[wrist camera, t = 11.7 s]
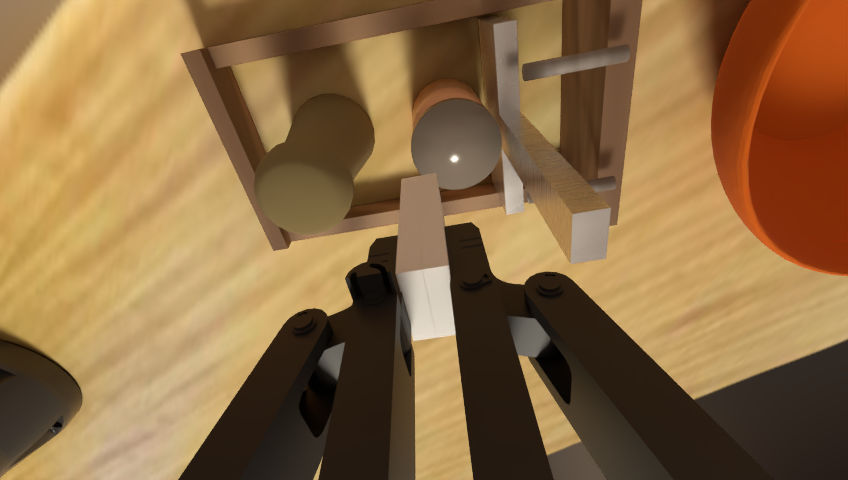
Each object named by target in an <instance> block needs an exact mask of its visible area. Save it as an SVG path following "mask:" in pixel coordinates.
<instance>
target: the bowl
mask: <svg viewBox="0 0 848 480" xmlns="http://www.w3.org/2000/svg"><path fill="white" fill-rule="evenodd" d="M711 139H712V147H713V155H714V160H715V163H716V167H717V171H718V175H719V178H720V180H721V183H722V186H723V188H724V191H725V193H726V195H727V197H728V199H729V201H730V203H731V204H732V206H733V208H734V210H735V211H736V213H737V214H738V216H739V217H740V218H741V220H742V221H743V223H744V224H745V225H746V226H747V227H748V229H749V230H750V231H751V232H752V233H753V234H754V235H755V236H756V237H757V238H758V239H759V240H760V241H761V242H762V243H763V244H764V245H766V246H767V247H768V248H769V249H771V250H772V251H773V252H775V253H776V254H778V255H780V256H781V257H783V258H784V259H786V260H788V261H790V262H792V263H795V264H797V265H799V266H802V267H804V268H807V269H810V270H813V271H818V272H822V273H827V274H832V275H842V276H848V0H751V1H750V2H749V4H748V6H747V7H746V9H745V11H744V13H743V14H742V16H741V18H740V20H739V23H738V25H737V27H736V29H735V31H734V33H733V35H732V37H731V40H730V42H729V45H728V47H727V50H726V52H725V55H724V58H723V61H722V64H721V67H720V70H719V74H718V78H717V82H716V86H715V91H714V97H713V104H712V117H711Z"/></svg>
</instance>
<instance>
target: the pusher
mask: <svg viewBox="0 0 848 480" xmlns="http://www.w3.org/2000/svg"><path fill="white" fill-rule="evenodd" d="M478 27H479V38H480V50H481V61H482V73H483V85H484V96H485V108H486V109H487V110H488V111H489V112H490V113H491V115H492V116H493V117H494V119H495V121H496V122H497V124H498V126H499V129H500V132H501V137H502V149H501V154H500V157H499V160H498V162H497V164H496V166H495V168H494V169H493V170H492V172H491V177H492V183H493V185H494V187H495V190H496V192H497V194H498V197H499V199H500V201H501V204H502V206H503V208H504V211H505V213H506V215H507V214H513V213H519V212H524V198H523V185H524V186H525V188H526V190H527V191H528V193H529V195H530V197H531V198H532V200H533V202H534V203H535V205H536V207H537V208H538V210H539V212H540V213H541V215H542V217H543V218H544V220H545V222H546V223H547V225H548V227H549V228H550V230H551V232H552V234H553V235H554V237H555V239H556V240H557V242H558V244H559V245H560V247H561V249H562V250H563V252H564V254H565V255H566V257H567V259H568V260H569V262H570V264H574V263H580V262H587V261H593V260H600V259H606V252H607V242H608V233H609V223H610V213H611V207H610V206H609V205H608V204H607V203H606V202H605V201H604V200H603V199H602V198H601V197H600V196H599V195H598V194H597V193H596V191H595V190H594V189H593V188H592V187H591V186H590V185H589V184H588V183H587V182H586V181H585V180H584V179H583V178H582V177H581V176H580V175H579V173H578V172H577V171H576V170H575V169H574V168H573V167H572V166H571V165H570V164H569V163H568V162H567V161H566V160H565V159H564V158H563V157H562V155H561V154H560V153H559V152H558V151H557V150H556V149H555V148H554V147H553V146H552V145H551V144H550V143H549V142H548V141H547V140H546V138H545V137H544V136H543V135H542V134H541V133H540V132H539V131H538V130H537V129H536V128H535V127H534V126H533V125H532V124H531V123H530V122H529V120H528V119H527V118H526V117H525V116H524V115H523V114H522V113H521V112H520V95H519V69H518V44H517V20H515V19H511V18H506V17H501V16H497V15H496V16H491V17H486V18H481V19H478Z"/></svg>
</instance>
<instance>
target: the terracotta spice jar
mask: <svg viewBox="0 0 848 480" xmlns="http://www.w3.org/2000/svg"><path fill="white" fill-rule="evenodd" d="M501 149H502V137H501V132H500V129H499V126H498V124H497V122H496V121H495V119H494V117H493V116H492V115H491V113H490V112H489V111H488V110H487V109H486V108H485V107H484V106H483V104H482V103H481V101H480V100H479V98H478V97H477V95H476V94H475V92H474V91H473V90H472V88H470V87H469V86H468V85H467V84H465V83H464V82H462V81H459V80H456V79H450V78H446V79H440V80H436V81H434V82H432V83H430V84H428V85H427V86H426V87H425V88H424V89H423V90H422V91H421V92H420V93H419V95H418V97H417V98H416V101H415V103H414V107H413V133H412V139H411V153H412V158H413V162H414V164H415V166H416V168H417V170H418V172H419V173H420V174H421V175H426V174H432V173H436V174H437V180H438V186H439V187H440V188H444V189H450V190H457V189H464V188H468V187H471V186H473V185H475V184H477V183H479V182H481V181H482V180H483V179H485V178H486V177H487V176H488V175H489V174H490V173H491V172H492V170H493V169H494V168H495V166H496V164H497V162H498V160H499V157H500V154H501Z"/></svg>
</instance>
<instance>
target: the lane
mask: <svg viewBox="0 0 848 480" xmlns="http://www.w3.org/2000/svg"><path fill="white" fill-rule="evenodd" d="M547 1H552V0H432V1H428V2H423V3H418V4H413V5H408V6H404V7H399V8H394V9H389V10H384V11H379V12H375V13H370V14H365V15H360V16H355V17H351V18H346V19H341V20H336V21H331V22H327V23H322V24H317V25H312V26H307V27H303V28H298V29H293V30H288V31H283V32H278V33H274V34H269V35H264V36H259V37H254V38H250V39H245V40H240V41H235V42H230V43H226V44H221V45H216V46H211V47H206V48H202V49H198V50H194V51H190V52H186V53H182V54H181V56H182V58H183V60H184V62H185V64H186V66H187V68H188V71H189V73H190V75H191V77H192V79H193V81H194V83H195V85H196V88H197V90H198V92H199V94H200V96H201V98H202V100H203V102H204V104H205V107H206V109H207V111H208V113H209V115H210V117H211V119H212V121H213V124H214V126H215V128H216V130H217V132H218V134H219V136H220V138H221V141H222V143H223V145H224V147H225V149H226V151H227V153H228V155H229V157H230V160H231V162H232V164H233V166H234V168H235V170H236V172H237V174H238V177H239V179H240V181H241V183H242V185H243V187H244V189H245V191H246V193H247V196H248V198H249V200H250V202H251V204H252V206H253V208H254V210H255V213H256V215H257V217H258V219H259V221H260V223H261V225H262V227H263V230H264V232H265V234H266V236H267V238H268V240H269V242H270V244H271V246H272V249H273V251H275V250H281V249H287V248H288V247H289V245H290V243H291V242H292V241H298V240H304V239H309V238H315V237H321V236H327V235H333V234H339V233H345V232H351V231H357V230H363V229H369V228H375V227H381V226H387V225H393V224H399V210H400V199H394V200H388V201H382V202H377V203H371V204H365V205H359V206H353V207H350V210H349V211H348V213H347V214H346V216H345V217H344V218H343V220H342V221H341V222H340V223H339V224H337V225H336V226H334V227H333V228H331V229H330V230H328V231H325V232H321V233H318V234H297V233H293V232H289V231H286V230H284V229H282V228H281V227H279V226H277V225H275V224H274V223H273V222H272V221H271V220H270V219H269V218H268V217H266V215H265V214H264V212H263V210H262V209H261V207H260V206H259V204H258V203H257V200H256V196H255V192H254V179H255V172H256V169H257V167H258V165H259V163H260V161H261V159H262V158H263V157H264V156H265V155H266V152H265V149H264V147H263V145H262V142H261V140H260V137H259V135H258V133H257V130H256V128H255V125H254V123H253V120H252V118H251V116H250V113H249V111H248V108H247V106H246V104H245V101H244V99H243V96H242V94H241V92H240V89H239V87H238V84H237V82H236V80H235V77H234V75H233V72H232V70H231V67H230V66H232V65H237V64H242V63H247V62H252V61H257V60H262V59H267V58H272V57H276V56H281V55H286V54H291V53H296V52H301V51H306V50H311V49H316V48H321V47H326V46H331V45H336V44H340V43H345V42H350V41H355V40H360V39H365V38H370V37H375V36H380V35H385V34H390V33H395V32H399V31H404V30H409V29H414V28H419V27H424V26H429V25H434V24H439V23H444V22H449V21H454V20H458V19H463V18H468V17H473V16H478V15H483V14H488V13H493V12H498V11H503V10H508V9H513V8H517V7H522V6H527V5H532V4H537V3H542V2H547ZM641 8H642V0H563V11H562V57H558V58H552V59H547V60H542V61H537V62H532V63H526V64H523V67H522V74H523V79H524V81H529V80H534V79H539V78H544V77H550V76H555V75H560V74H561V126H560V154H561V155H562V157H563V158H564V159H565V160H566V161H567V162H568V163H569V164H570V165H571V166H572V167H573V168H574V169H575V170H576V171H577V172H578V173H579V175H580V176H581V177H582V178H583V179H584V180H585V181H586V182H587V183H588V184H589V185H590V186H591V187H592V188H593V189H594V190H595V191H596V193H597V194H598V195H599V196H600V197H601V198H602V199H603V200H604V201H605V202H606V203H607V204H608V205H609V206H610V207H611V213H610V223H609V226H612V225H617V220H618V211H619V202H620V193H621V184H622V176H623V167H624V158H625V149H626V140H627V131H628V123H629V114H630V105H631V96H632V87H633V78H634V70H635V61H636V52H637V43H638V34H639V25H640V16H641ZM440 197H441V203H442V209H443V215H444V216H447V215H453V214H459V213H465V212H471V211H477V210H483V209H489V208H495V207H501V206H502V204H501V201H500V199H499V197H498V194H497V192H496V190H495V187H494V185H493V183H487V184H481V185H476V186H471V187H468V188H464V189H457V190H446V191H441V192H440ZM523 198H524V203H525V202H528V203H534V202H533V200H532V198H531V197H530V195H529V193H528V191H527V190H526V188H525V186H524V185H523Z"/></svg>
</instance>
